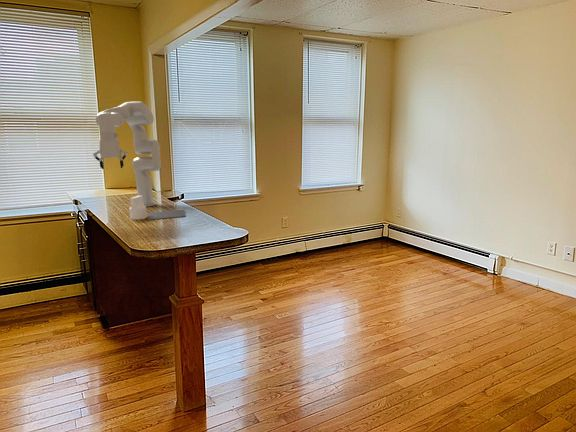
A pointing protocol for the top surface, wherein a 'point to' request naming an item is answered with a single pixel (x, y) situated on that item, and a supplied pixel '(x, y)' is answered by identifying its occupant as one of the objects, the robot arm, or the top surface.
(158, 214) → the mat
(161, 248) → the top surface
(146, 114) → the robot arm
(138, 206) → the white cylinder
